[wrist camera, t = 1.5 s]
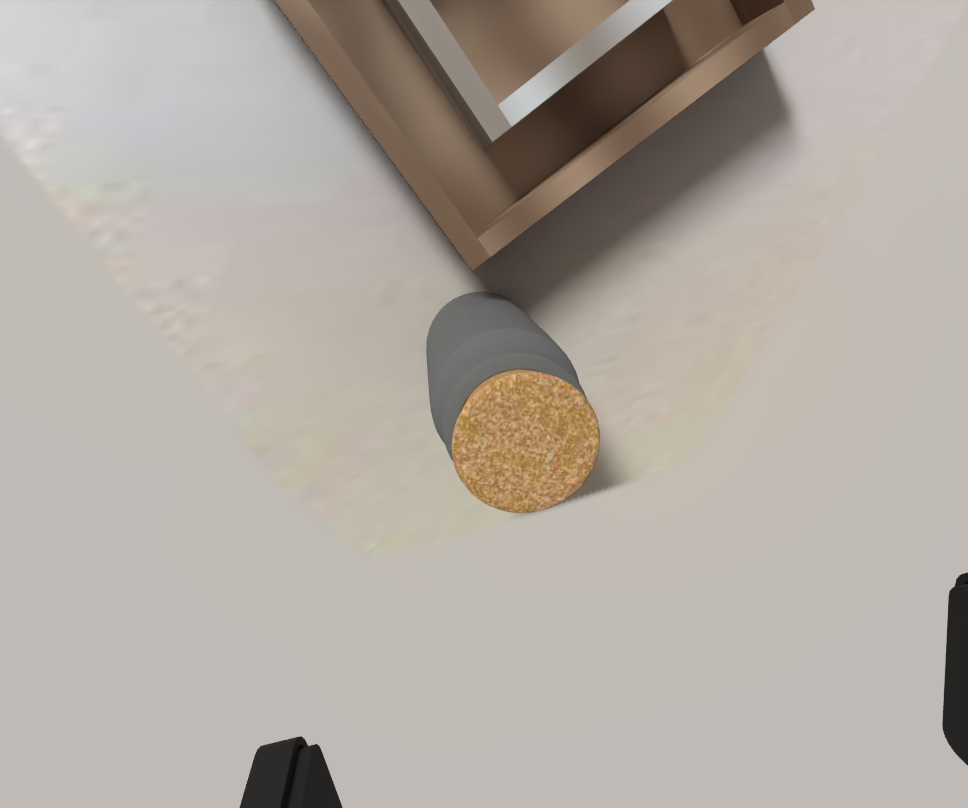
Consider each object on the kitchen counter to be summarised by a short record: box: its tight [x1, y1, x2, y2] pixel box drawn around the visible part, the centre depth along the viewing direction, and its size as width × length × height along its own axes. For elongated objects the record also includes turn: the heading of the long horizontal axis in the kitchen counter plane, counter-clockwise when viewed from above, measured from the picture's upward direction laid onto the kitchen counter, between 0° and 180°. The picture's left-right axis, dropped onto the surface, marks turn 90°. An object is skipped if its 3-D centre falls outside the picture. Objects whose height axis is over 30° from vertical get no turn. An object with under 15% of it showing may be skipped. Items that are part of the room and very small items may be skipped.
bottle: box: [426, 292, 600, 513], centre depth 26 cm, size 6×6×15 cm
